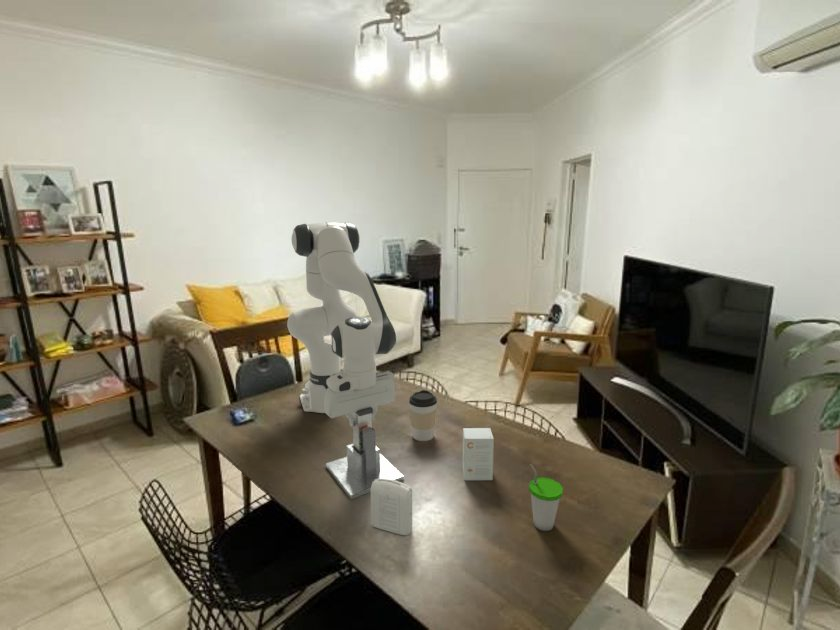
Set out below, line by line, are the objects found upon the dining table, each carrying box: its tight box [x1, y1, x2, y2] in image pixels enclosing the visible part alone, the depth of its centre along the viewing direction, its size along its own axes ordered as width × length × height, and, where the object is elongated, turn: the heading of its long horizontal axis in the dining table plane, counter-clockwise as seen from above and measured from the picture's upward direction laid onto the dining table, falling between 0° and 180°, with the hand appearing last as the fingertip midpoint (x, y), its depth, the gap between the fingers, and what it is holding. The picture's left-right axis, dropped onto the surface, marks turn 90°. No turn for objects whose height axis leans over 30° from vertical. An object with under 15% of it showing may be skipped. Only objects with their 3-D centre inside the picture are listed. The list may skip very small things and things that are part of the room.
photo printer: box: [370, 479, 413, 536], centre depth 107 cm, size 10×4×12 cm, turn 69°
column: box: [351, 407, 373, 454], centre depth 127 cm, size 6×4×19 cm, turn 32°
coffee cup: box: [408, 389, 438, 442], centre depth 149 cm, size 9×9×15 cm
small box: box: [462, 427, 495, 481], centre depth 127 cm, size 8×6×13 cm
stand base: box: [325, 427, 405, 500], centre depth 128 cm, size 18×16×16 cm
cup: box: [528, 463, 564, 532], centre depth 107 cm, size 8×8×15 cm
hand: (361, 423), depth 126 cm, fingers closed on column, 4 cm apart
